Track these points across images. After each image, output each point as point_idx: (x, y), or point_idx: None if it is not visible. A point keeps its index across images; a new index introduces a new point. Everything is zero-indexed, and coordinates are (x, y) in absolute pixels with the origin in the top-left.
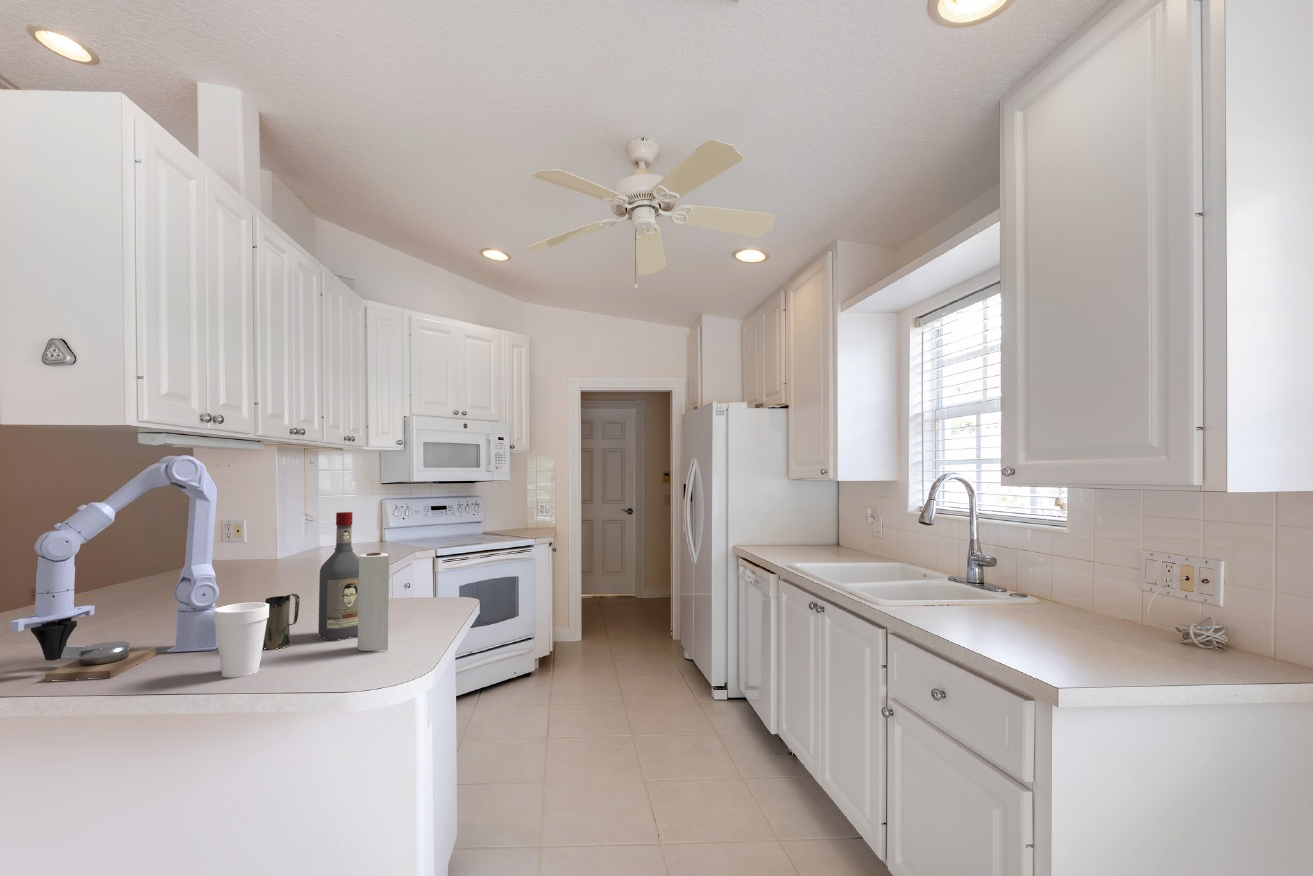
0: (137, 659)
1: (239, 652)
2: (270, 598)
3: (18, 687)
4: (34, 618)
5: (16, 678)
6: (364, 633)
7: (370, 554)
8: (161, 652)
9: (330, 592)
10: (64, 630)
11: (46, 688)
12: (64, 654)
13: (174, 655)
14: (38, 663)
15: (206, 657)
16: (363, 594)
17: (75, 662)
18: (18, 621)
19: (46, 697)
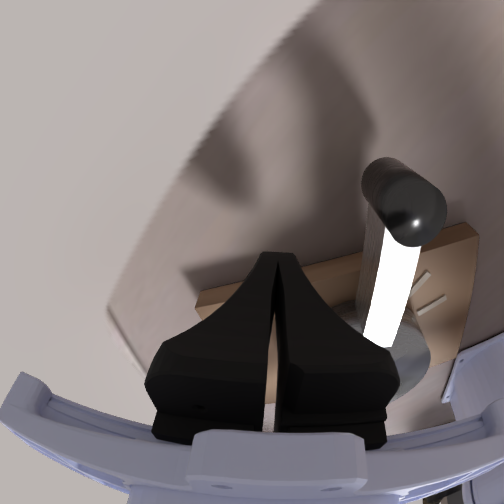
0: None
1: None
2: (456, 489)
3: (144, 262)
4: (98, 481)
5: (210, 153)
6: None
7: None
8: (471, 334)
9: (445, 500)
10: (274, 427)
11: (166, 332)
12: (369, 237)
13: (434, 373)
14: (408, 40)
15: (398, 415)
16: None
17: (334, 288)
18: (30, 446)
19: (136, 365)
